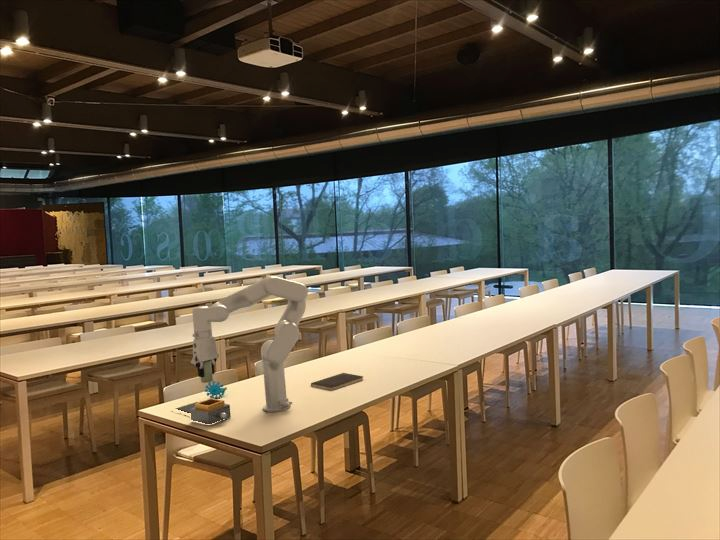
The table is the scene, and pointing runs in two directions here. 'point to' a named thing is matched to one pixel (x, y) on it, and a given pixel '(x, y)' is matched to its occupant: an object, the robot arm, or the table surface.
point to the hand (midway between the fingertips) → (206, 374)
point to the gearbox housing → (210, 411)
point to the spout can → (207, 372)
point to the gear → (215, 389)
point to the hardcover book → (337, 381)
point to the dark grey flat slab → (187, 407)
